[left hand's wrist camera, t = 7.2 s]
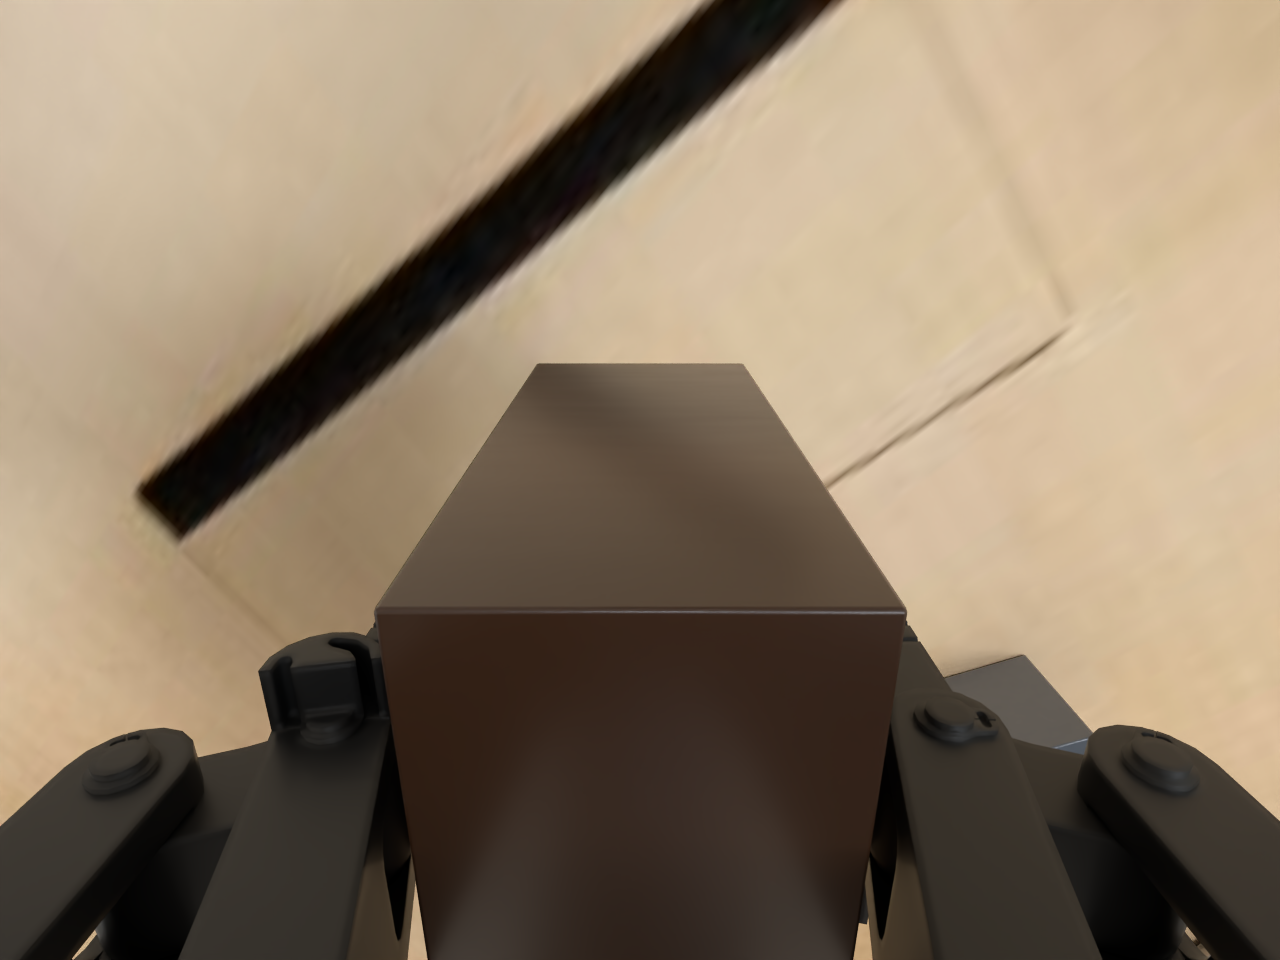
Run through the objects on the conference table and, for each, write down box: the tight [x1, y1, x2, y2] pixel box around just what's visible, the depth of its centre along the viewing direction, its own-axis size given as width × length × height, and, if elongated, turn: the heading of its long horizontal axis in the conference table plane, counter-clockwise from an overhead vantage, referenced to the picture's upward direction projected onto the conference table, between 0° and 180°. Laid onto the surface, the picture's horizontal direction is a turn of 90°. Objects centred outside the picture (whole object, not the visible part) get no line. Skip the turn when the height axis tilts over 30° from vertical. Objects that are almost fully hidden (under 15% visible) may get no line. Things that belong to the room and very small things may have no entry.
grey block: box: [944, 655, 1093, 755], centre depth 28 cm, size 4×4×5 cm
